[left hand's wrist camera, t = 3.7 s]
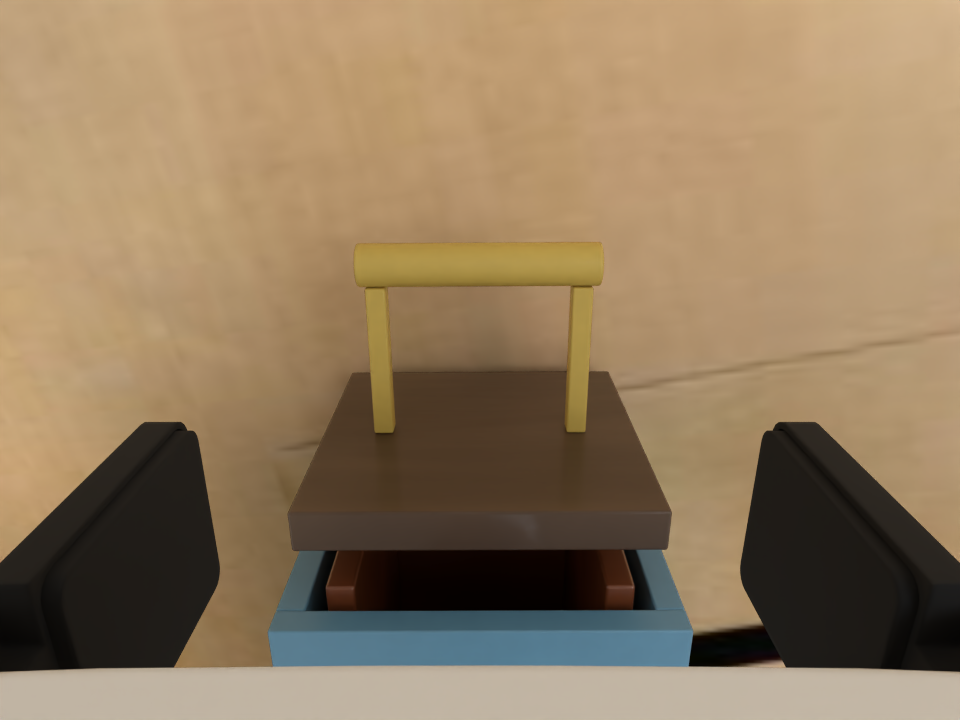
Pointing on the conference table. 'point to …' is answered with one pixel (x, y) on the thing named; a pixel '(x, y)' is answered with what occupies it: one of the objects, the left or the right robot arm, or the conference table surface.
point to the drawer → (479, 460)
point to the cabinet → (481, 628)
